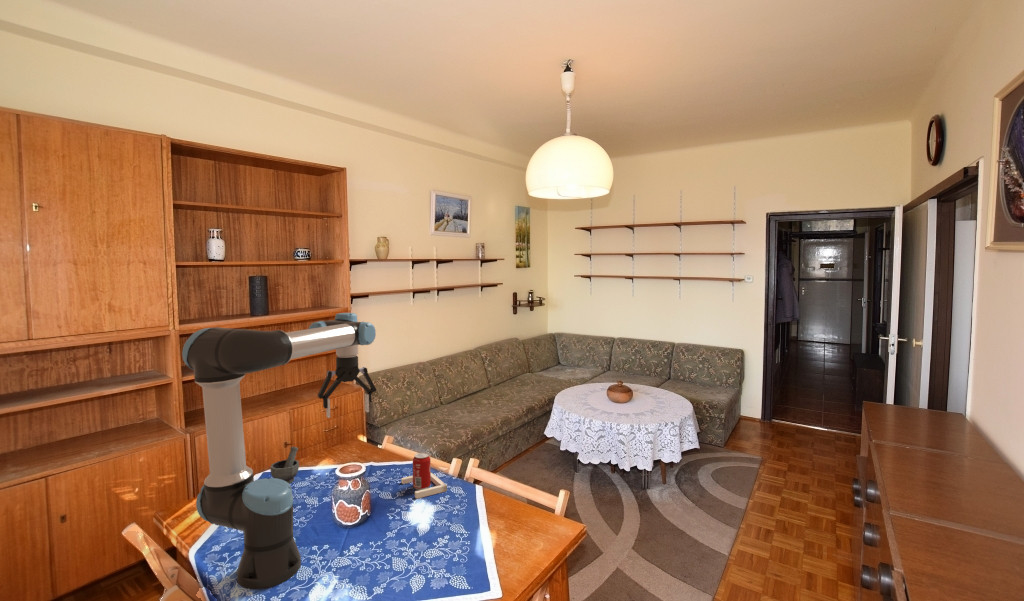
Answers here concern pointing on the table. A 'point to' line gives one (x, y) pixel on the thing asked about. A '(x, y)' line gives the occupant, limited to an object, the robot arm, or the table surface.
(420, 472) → the beverage can
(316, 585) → the table surface
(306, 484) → the table surface
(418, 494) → the u-shaped wooden frame
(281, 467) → the mortar and pestle
